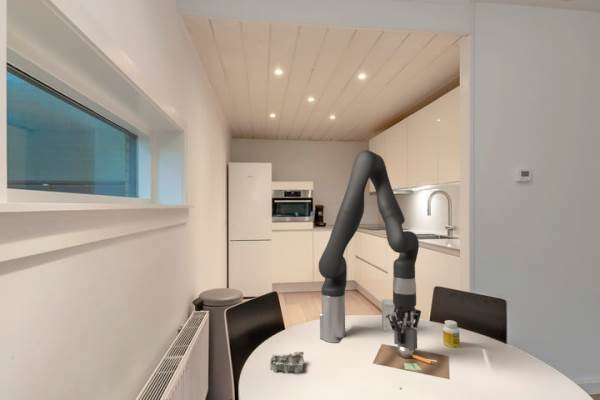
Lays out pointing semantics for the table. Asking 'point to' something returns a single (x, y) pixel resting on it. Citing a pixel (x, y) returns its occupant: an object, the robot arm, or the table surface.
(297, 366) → the egg carton
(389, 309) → the supplement box
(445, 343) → the supplement bottle
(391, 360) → the brown flat board
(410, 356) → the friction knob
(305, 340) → the table surface
